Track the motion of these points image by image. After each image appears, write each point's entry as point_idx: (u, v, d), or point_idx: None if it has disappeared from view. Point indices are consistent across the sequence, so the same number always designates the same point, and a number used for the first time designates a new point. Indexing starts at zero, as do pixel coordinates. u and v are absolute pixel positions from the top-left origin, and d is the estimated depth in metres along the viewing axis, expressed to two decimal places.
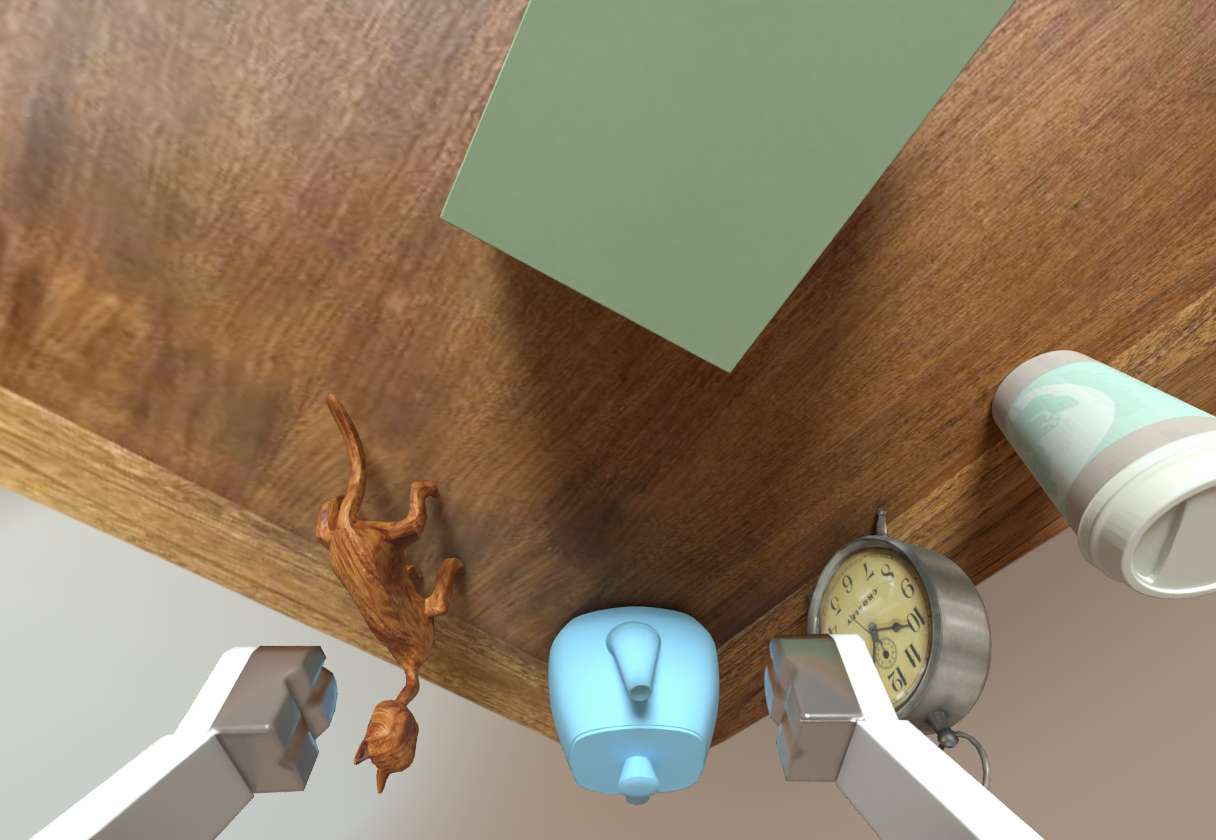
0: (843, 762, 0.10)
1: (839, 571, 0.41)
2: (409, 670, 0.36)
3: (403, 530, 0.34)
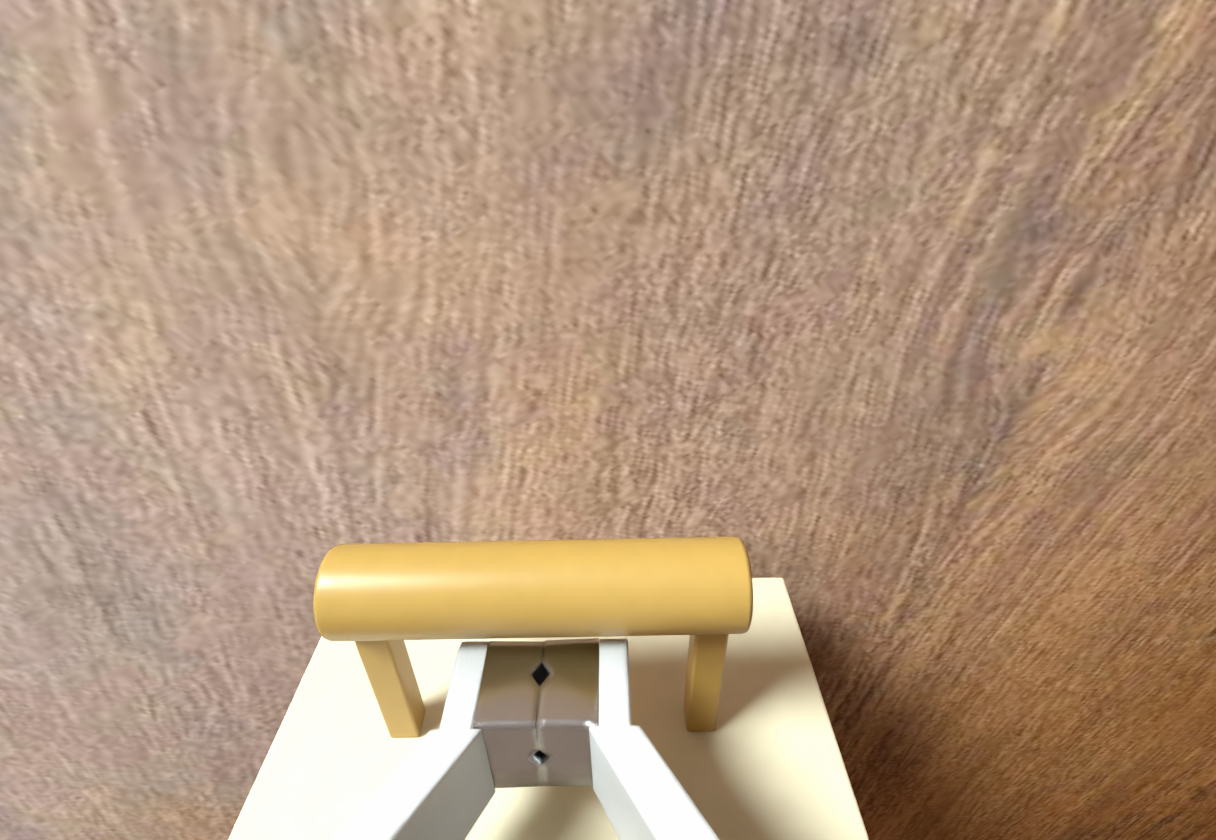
0: (592, 767, 0.10)
1: None
2: None
3: None
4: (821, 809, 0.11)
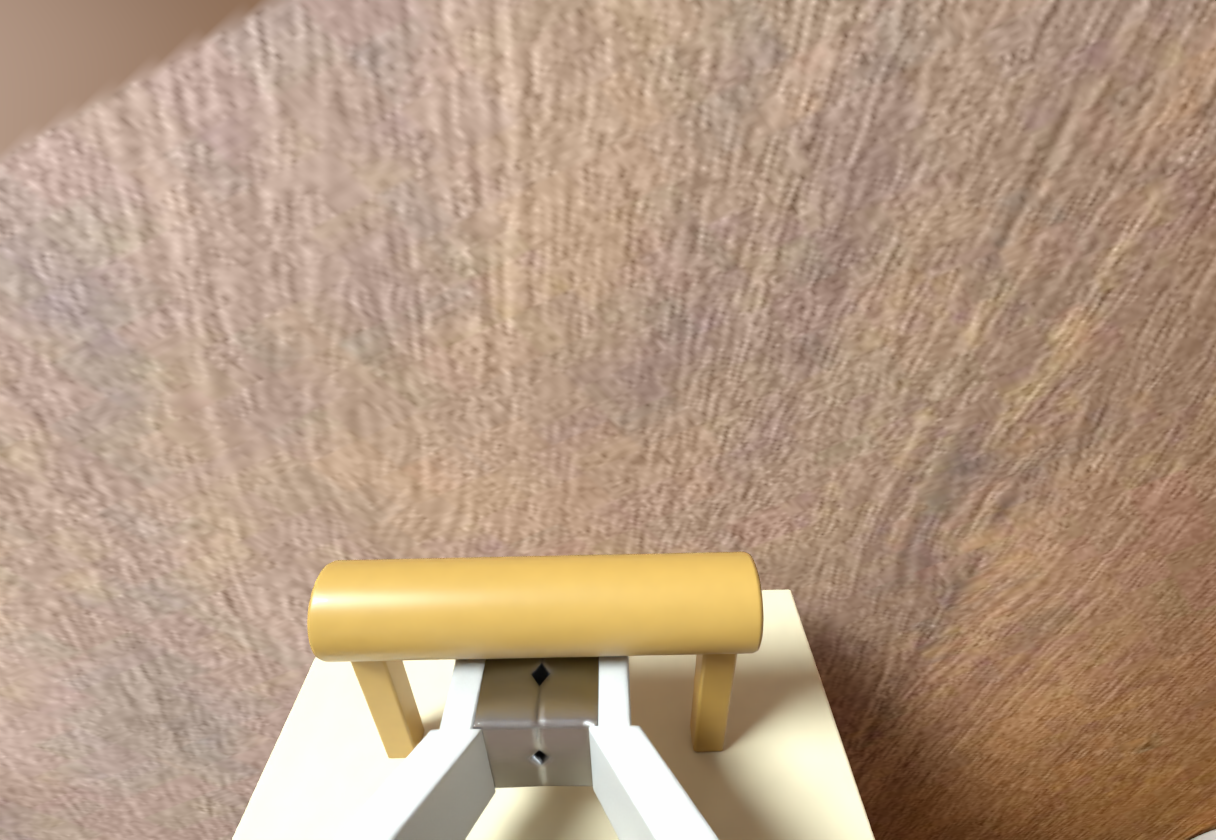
0: (592, 767, 0.10)
1: None
2: None
3: None
4: (833, 834, 0.11)
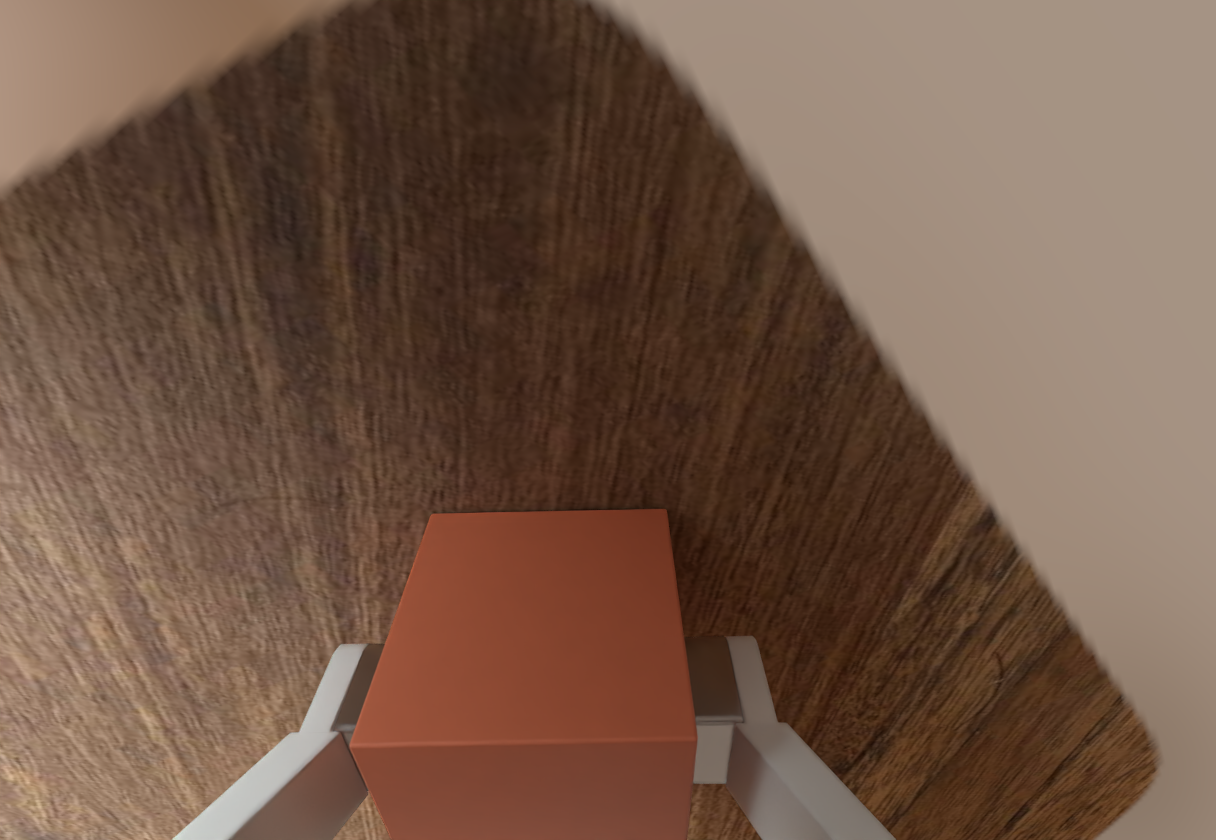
0: (729, 765, 0.10)
1: None
2: None
3: None
4: None
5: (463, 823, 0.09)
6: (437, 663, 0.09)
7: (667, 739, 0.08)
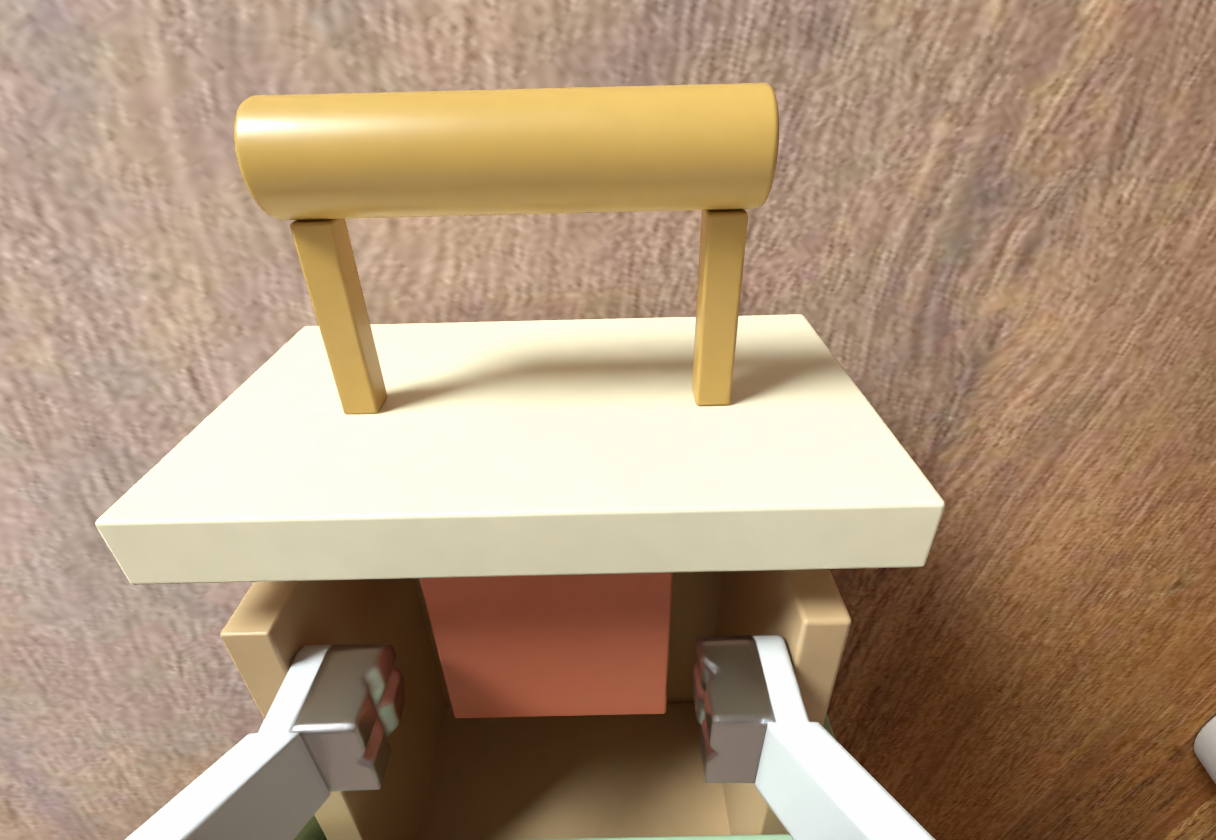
0: (759, 765, 0.10)
1: None
2: None
3: None
4: (861, 453, 0.09)
5: (496, 642, 0.11)
6: None
7: None
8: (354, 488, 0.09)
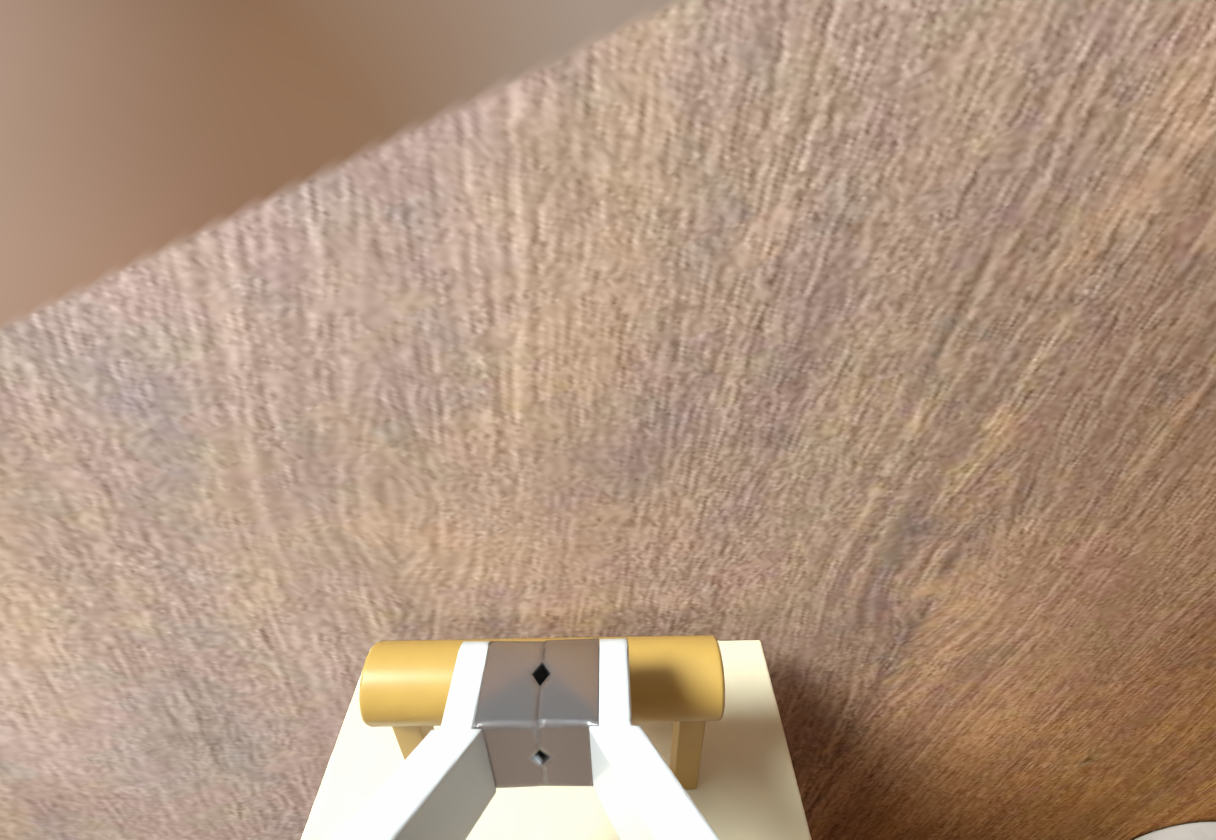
0: (592, 767, 0.10)
1: None
2: None
3: None
4: None
5: None
6: None
7: None
8: None
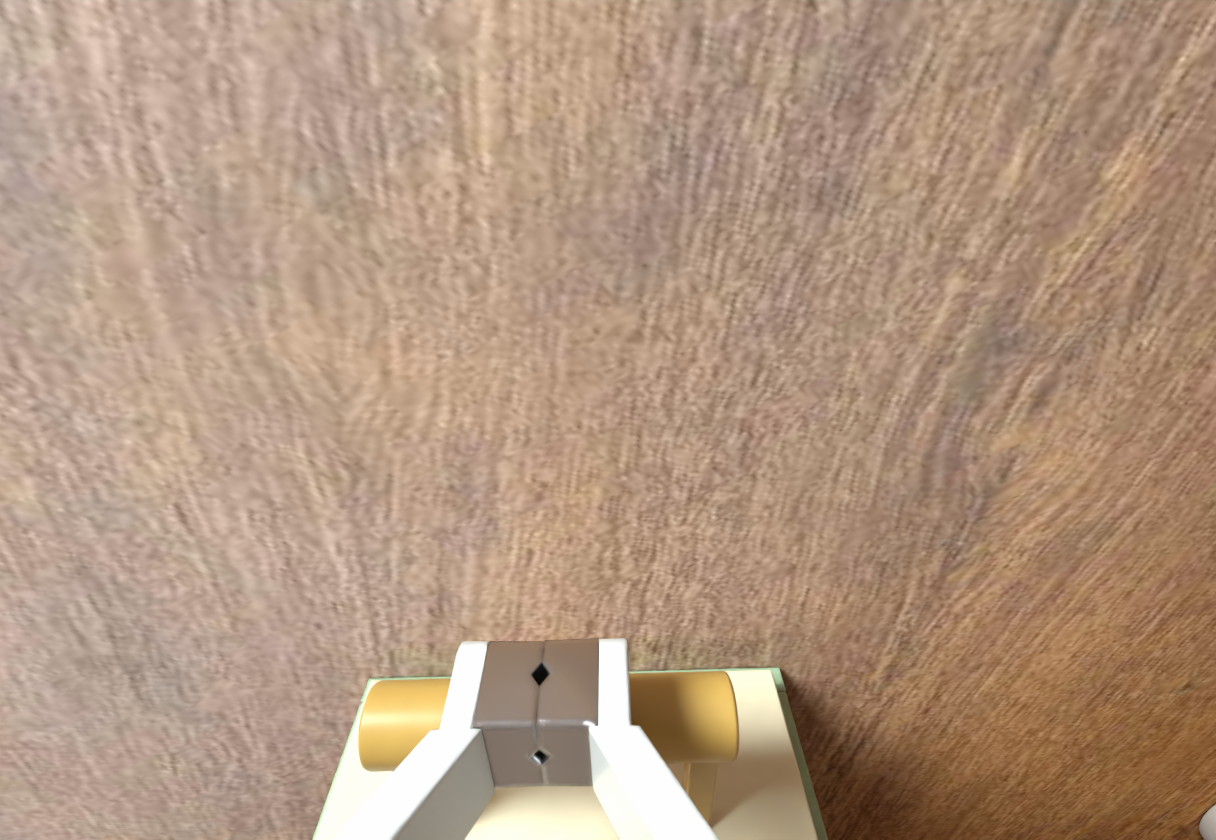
0: (592, 767, 0.10)
1: None
2: None
3: None
4: None
5: None
6: None
7: None
8: None
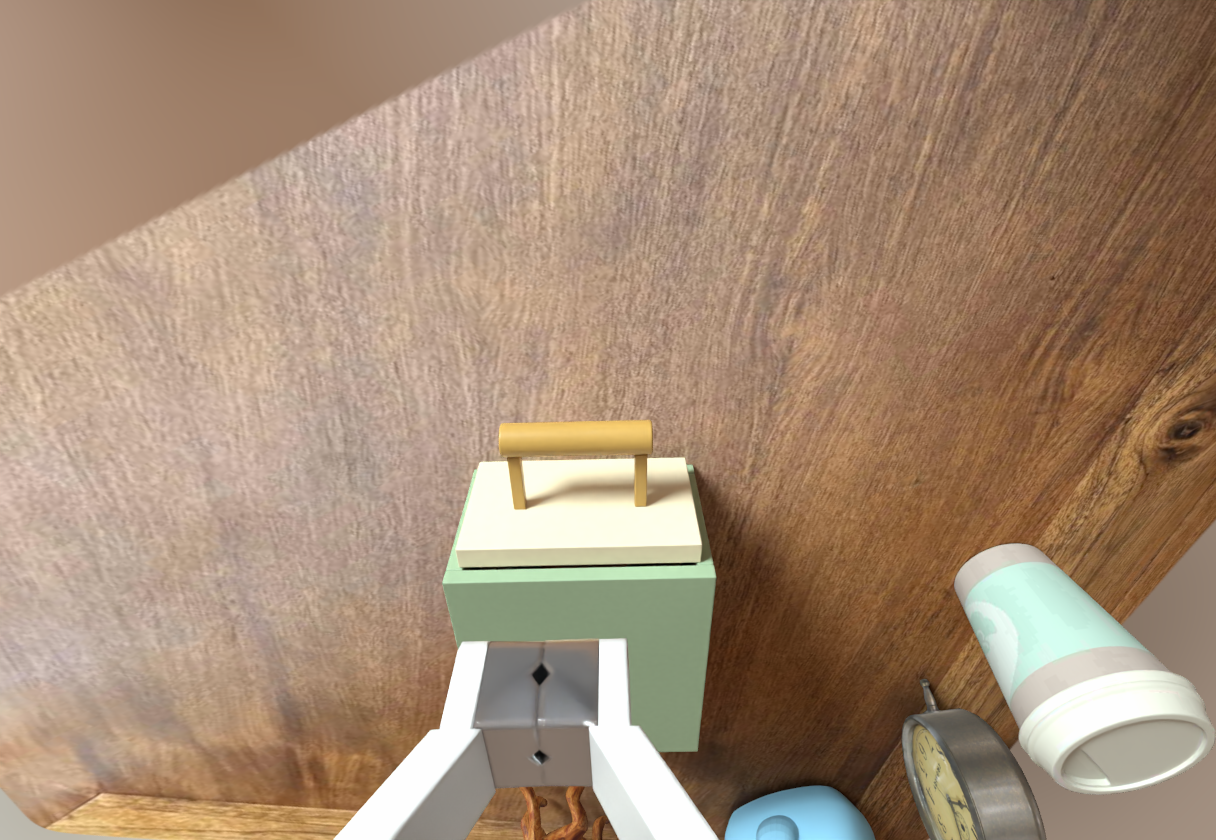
0: (591, 767, 0.10)
1: (914, 737, 0.47)
2: None
3: (573, 833, 0.49)
4: (684, 526, 0.29)
5: None
6: None
7: None
8: (527, 538, 0.29)
